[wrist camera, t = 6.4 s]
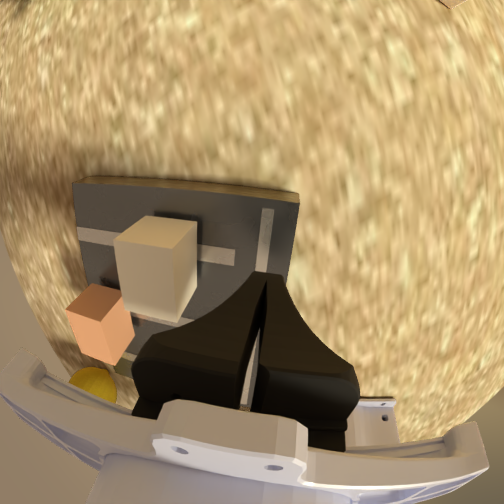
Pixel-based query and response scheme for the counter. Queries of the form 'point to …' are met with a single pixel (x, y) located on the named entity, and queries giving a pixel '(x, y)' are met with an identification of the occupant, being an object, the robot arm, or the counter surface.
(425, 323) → the counter surface
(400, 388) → the counter surface
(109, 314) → the block
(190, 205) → the panel
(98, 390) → the lemon
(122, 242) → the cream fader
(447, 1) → the milk
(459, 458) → the robot arm
